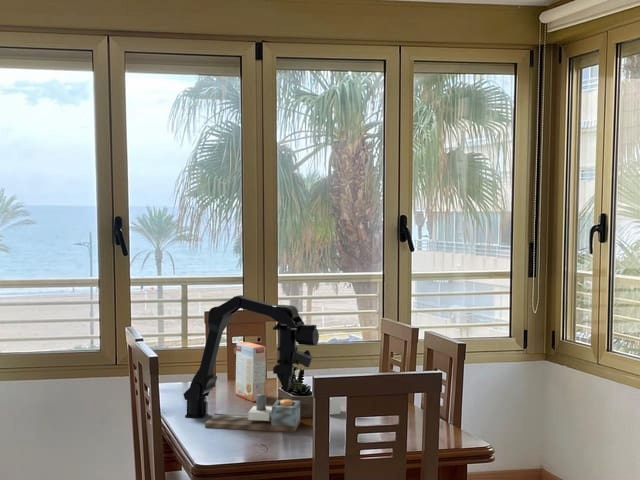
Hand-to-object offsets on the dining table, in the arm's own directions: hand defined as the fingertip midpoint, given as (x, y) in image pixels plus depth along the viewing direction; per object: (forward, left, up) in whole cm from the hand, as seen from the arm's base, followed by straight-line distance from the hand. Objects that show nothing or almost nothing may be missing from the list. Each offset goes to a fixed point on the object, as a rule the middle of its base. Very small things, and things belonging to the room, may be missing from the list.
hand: (286, 390), depth 235 cm
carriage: (-9, 0, -9) cm, 13 cm away
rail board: (-11, 0, -12) cm, 16 cm away
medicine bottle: (+12, +20, -12) cm, 26 cm away
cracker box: (-20, +37, -12) cm, 44 cm away
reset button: (0, 0, -6) cm, 6 cm away
